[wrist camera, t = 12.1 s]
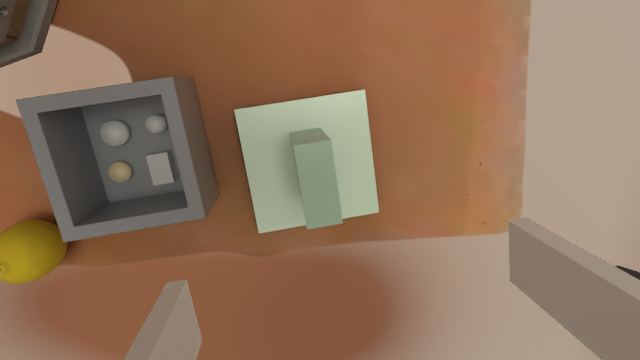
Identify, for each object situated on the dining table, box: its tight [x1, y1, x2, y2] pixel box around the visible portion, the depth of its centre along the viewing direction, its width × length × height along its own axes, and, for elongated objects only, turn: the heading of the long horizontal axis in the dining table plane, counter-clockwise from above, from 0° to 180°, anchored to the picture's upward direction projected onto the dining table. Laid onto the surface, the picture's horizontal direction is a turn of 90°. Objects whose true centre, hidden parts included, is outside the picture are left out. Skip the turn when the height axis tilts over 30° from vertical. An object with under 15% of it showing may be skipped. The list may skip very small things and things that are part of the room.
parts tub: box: [16, 77, 219, 242], centre depth 36 cm, size 12×12×8 cm
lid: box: [234, 89, 379, 233], centre depth 37 cm, size 13×13×11 cm
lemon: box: [0, 220, 67, 284], centre depth 37 cm, size 6×6×8 cm
